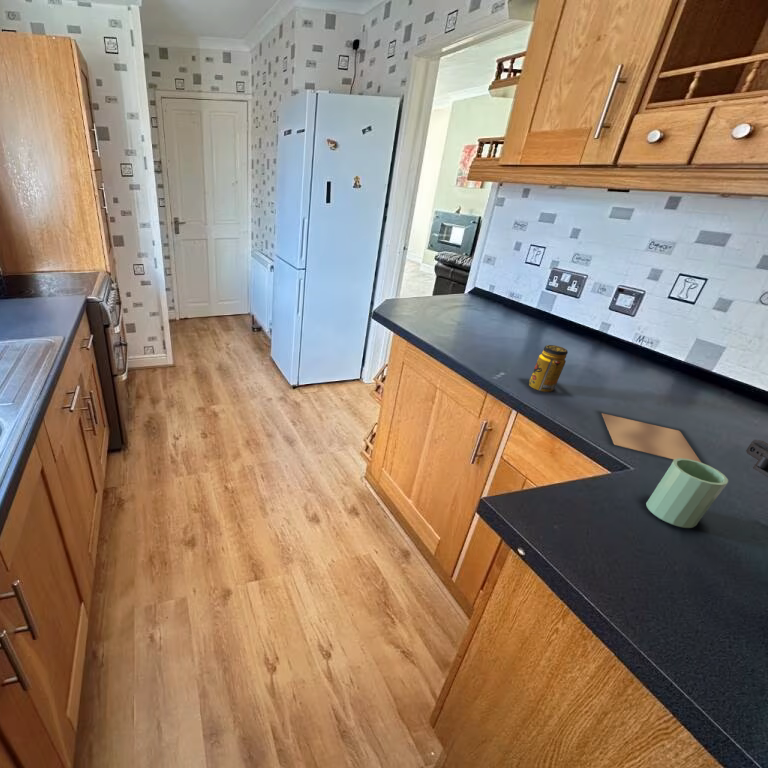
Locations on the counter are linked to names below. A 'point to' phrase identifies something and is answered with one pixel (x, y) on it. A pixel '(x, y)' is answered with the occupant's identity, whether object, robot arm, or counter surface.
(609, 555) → the counter surface
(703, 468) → the cup
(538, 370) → the condiment
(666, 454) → the mat
